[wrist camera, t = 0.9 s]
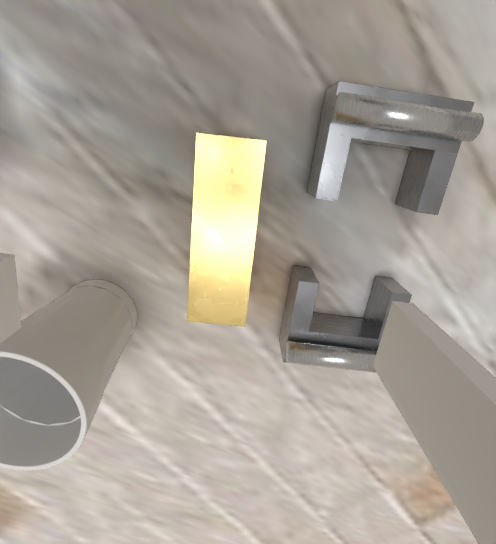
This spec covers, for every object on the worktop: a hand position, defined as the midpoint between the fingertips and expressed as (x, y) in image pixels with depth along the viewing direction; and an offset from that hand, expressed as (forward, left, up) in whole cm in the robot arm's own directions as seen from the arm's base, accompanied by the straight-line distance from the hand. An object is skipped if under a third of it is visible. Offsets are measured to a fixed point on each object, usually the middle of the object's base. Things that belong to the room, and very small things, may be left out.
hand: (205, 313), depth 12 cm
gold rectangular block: (0, 0, -16) cm, 16 cm away
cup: (+9, -10, -16) cm, 21 cm away
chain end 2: (+6, +10, -16) cm, 20 cm away
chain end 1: (-7, +10, -16) cm, 20 cm away
